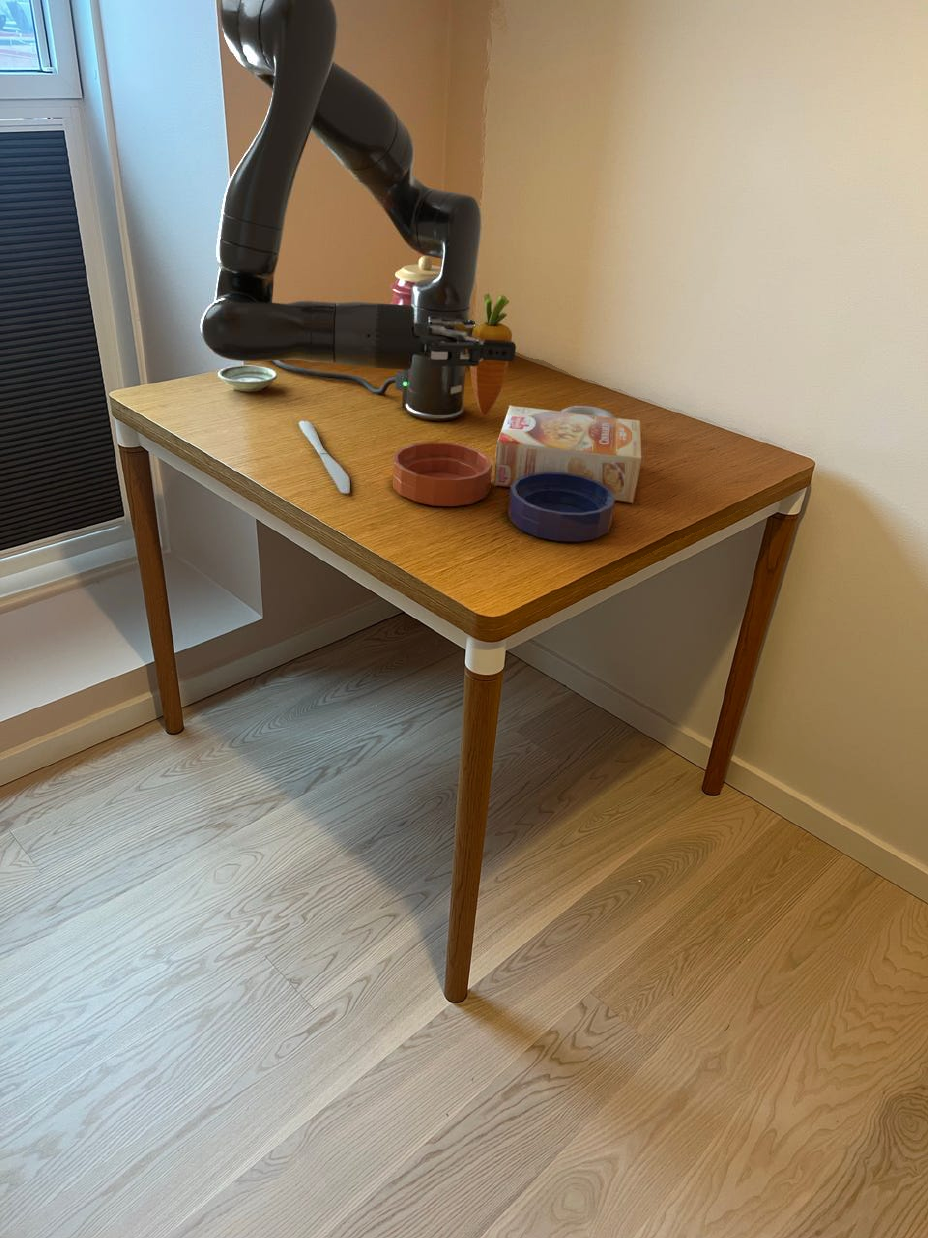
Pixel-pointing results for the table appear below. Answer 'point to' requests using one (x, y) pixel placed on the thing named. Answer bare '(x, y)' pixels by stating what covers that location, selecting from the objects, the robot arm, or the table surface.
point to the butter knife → (326, 458)
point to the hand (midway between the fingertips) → (512, 344)
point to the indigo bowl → (561, 506)
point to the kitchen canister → (412, 279)
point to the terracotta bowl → (441, 473)
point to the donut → (588, 411)
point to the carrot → (490, 372)
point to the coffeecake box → (569, 448)
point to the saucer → (247, 377)
